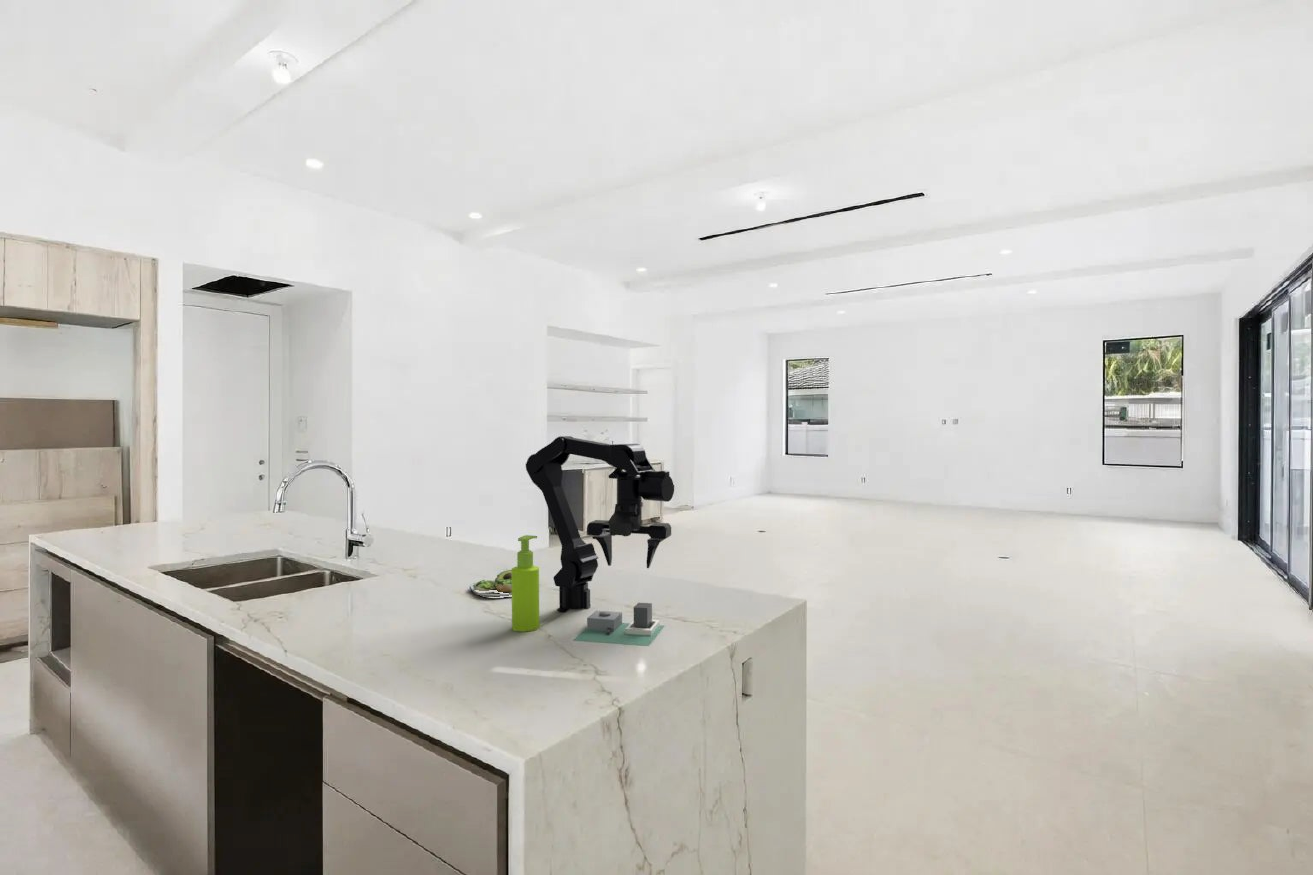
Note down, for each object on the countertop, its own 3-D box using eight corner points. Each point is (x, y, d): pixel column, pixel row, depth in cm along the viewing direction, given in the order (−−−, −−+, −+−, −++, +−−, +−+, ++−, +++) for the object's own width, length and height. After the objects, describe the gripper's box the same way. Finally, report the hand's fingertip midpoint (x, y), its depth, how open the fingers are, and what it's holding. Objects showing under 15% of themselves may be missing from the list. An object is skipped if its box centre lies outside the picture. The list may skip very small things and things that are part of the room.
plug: (633, 630, 147) (633, 607, 147) (639, 624, 152) (639, 601, 152) (647, 631, 146) (647, 608, 146) (653, 625, 151) (653, 602, 151)
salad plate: (551, 597, 181) (551, 579, 181) (482, 605, 173) (482, 587, 173) (528, 582, 198) (528, 565, 198) (465, 589, 190) (465, 572, 190)
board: (572, 644, 141) (572, 625, 141) (595, 624, 155) (595, 607, 155) (648, 649, 137) (648, 631, 137) (665, 628, 151) (665, 611, 151)
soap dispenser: (546, 623, 156) (545, 534, 155) (530, 632, 149) (530, 539, 149) (523, 621, 158) (522, 533, 157) (506, 630, 151) (506, 538, 151)
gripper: (578, 501, 154) (577, 571, 154) (659, 504, 149) (659, 577, 149) (595, 495, 164) (594, 561, 165) (672, 498, 160) (671, 566, 160)
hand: (628, 566), depth 160 cm, fingers open, 9 cm apart
